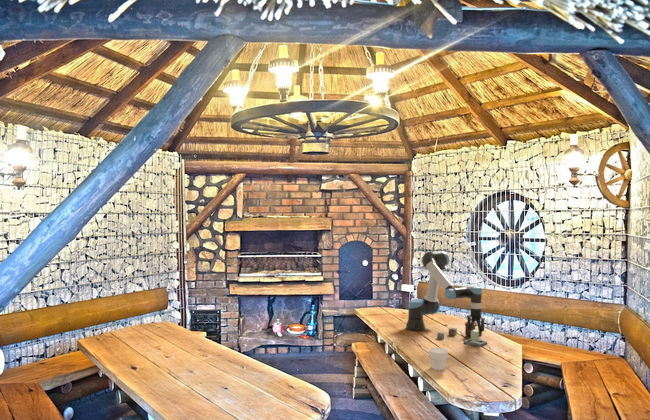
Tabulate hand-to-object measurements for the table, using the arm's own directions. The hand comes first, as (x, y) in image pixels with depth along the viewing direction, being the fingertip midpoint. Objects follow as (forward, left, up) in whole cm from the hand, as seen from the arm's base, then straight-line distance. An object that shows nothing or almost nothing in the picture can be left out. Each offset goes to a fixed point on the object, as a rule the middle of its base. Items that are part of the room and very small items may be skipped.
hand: (475, 339), depth 377 cm
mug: (-12, +16, -3) cm, 20 cm away
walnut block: (-25, +9, -3) cm, 27 cm away
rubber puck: (-25, -7, -3) cm, 26 cm away
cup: (+13, -66, -3) cm, 67 cm away
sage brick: (0, 0, 0) cm, 0 cm away
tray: (0, 0, -3) cm, 3 cm away
